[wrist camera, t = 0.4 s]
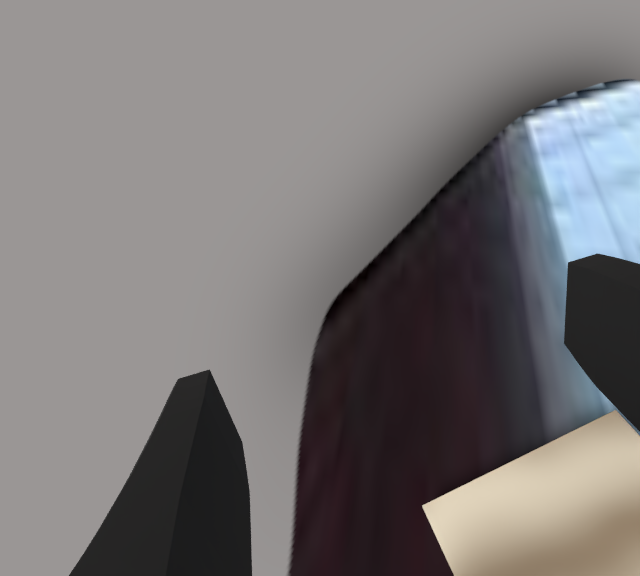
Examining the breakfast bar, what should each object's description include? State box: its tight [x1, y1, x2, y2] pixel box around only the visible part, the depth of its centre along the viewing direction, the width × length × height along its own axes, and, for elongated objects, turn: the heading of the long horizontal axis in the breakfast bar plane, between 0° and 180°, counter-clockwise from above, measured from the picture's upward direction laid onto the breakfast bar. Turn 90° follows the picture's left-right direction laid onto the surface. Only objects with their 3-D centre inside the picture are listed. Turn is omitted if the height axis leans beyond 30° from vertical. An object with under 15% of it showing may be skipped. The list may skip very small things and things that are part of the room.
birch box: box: [422, 410, 640, 576], centre depth 22 cm, size 11×11×2 cm
